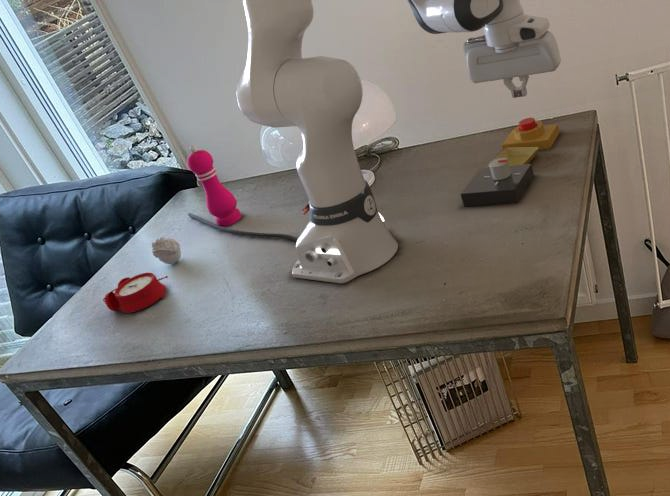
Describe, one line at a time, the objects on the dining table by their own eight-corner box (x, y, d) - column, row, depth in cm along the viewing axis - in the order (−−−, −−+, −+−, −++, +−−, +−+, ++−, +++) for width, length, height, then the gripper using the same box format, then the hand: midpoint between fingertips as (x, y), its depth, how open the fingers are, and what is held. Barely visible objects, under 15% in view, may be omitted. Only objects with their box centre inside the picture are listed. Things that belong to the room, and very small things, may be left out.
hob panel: (464, 206, 154) (459, 193, 152) (482, 181, 161) (478, 168, 160) (518, 202, 148) (514, 188, 147) (534, 176, 156) (531, 162, 154)
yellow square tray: (523, 174, 158) (521, 165, 157) (489, 174, 163) (486, 165, 162) (541, 155, 163) (539, 146, 162) (508, 156, 168) (506, 147, 167)
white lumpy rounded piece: (157, 273, 173) (142, 247, 169) (167, 258, 178) (153, 233, 174) (180, 267, 171) (165, 241, 167) (190, 252, 177) (176, 227, 173)
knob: (490, 181, 153) (486, 166, 151) (495, 172, 156) (492, 157, 154) (508, 179, 151) (504, 164, 149) (513, 170, 154) (510, 155, 152)
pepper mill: (242, 210, 189) (206, 135, 178) (244, 220, 184) (207, 143, 172) (215, 221, 189) (177, 147, 177) (217, 231, 183) (177, 155, 171)
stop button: (518, 132, 168) (516, 125, 167) (523, 126, 170) (521, 118, 169) (533, 131, 166) (531, 123, 165) (538, 124, 168) (536, 116, 167)
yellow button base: (503, 153, 170) (499, 137, 168) (514, 138, 175) (511, 122, 173) (549, 148, 165) (546, 131, 163) (559, 133, 170) (556, 116, 168)
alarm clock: (145, 297, 155) (83, 290, 158) (154, 321, 159) (94, 314, 162) (171, 269, 162) (111, 263, 166) (179, 293, 166) (121, 287, 170)
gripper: (455, 44, 158) (472, 107, 166) (546, 27, 149) (559, 95, 156) (466, 34, 162) (482, 96, 170) (555, 17, 153) (568, 84, 161)
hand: (520, 96), depth 163 cm, fingers closed
